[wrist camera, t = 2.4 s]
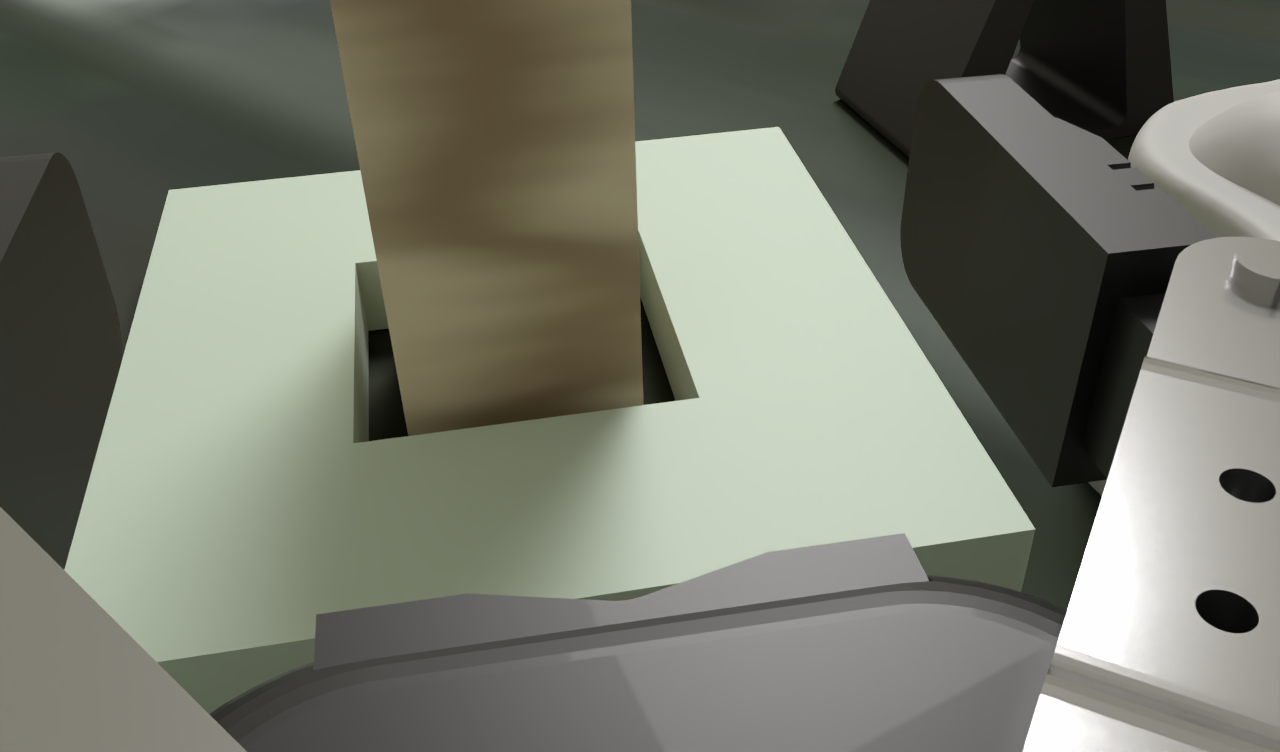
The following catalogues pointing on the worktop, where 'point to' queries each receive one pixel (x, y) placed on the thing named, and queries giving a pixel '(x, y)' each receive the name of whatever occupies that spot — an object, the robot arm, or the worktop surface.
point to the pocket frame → (509, 426)
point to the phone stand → (984, 45)
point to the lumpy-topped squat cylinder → (1217, 161)
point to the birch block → (500, 202)
